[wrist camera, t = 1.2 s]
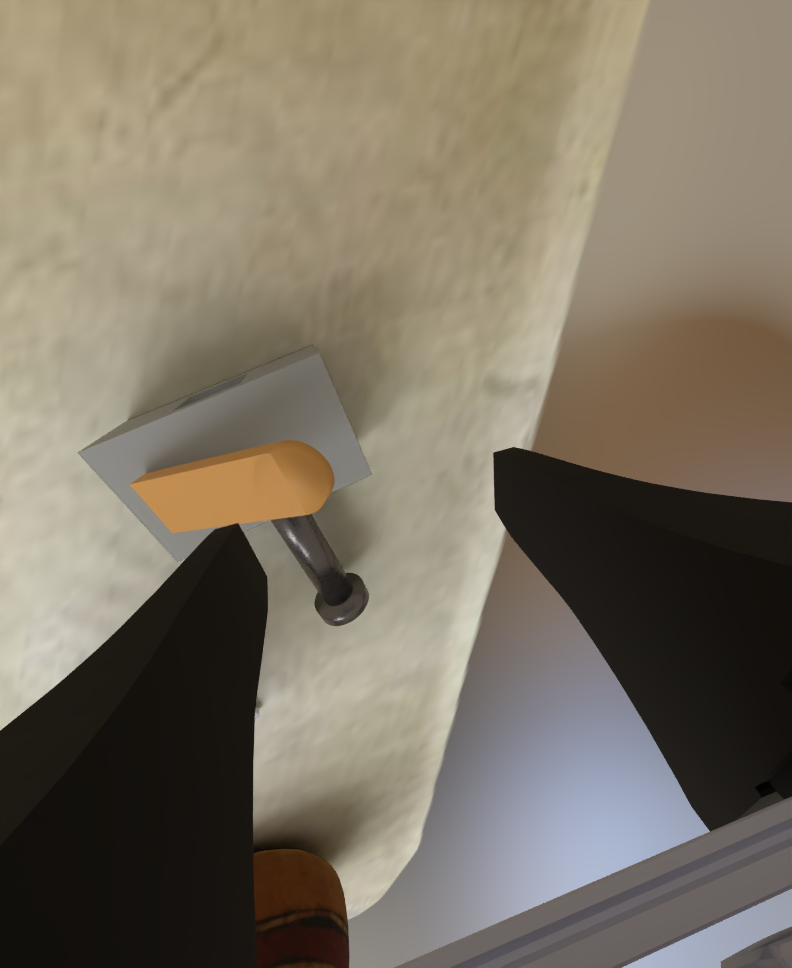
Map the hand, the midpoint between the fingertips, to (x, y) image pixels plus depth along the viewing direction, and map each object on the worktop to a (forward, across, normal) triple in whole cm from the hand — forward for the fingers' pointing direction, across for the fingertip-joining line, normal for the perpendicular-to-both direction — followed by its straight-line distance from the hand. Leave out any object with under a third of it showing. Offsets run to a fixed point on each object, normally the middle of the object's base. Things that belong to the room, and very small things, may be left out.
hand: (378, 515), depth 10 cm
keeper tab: (+5, +5, 0) cm, 7 cm away
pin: (+10, +4, +7) cm, 13 cm away
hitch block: (+11, +5, +1) cm, 12 cm away
